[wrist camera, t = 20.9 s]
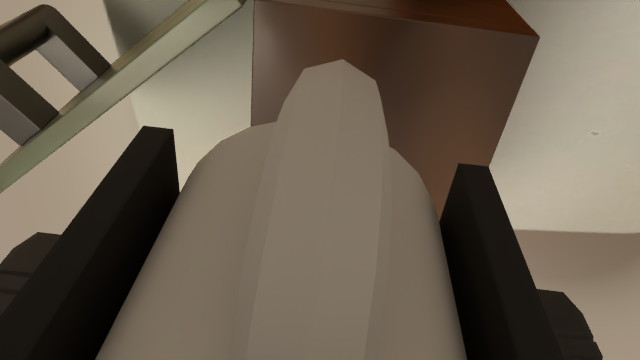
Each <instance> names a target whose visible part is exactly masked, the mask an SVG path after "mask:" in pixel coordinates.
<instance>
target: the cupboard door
mask: <svg viewBox="0 0 640 360" xmlns="http://www.w3.org/2000/svg"><path fill="white" fill-rule="evenodd" d="M246 1H247V0H189V1H187V2H186V3H185V4H184V5H183V6H181V7H180V8H179V9H178V10H177V11H175V12H174V13H173V14H172V15H171V16H169V17H168V18H167V19H166V20H164V21H163V22H162V23H161V24H160V25H158V26H157V27H156V28H155V29H154V30H152V31H151V32H150V33H149V34H148V35H146V36H145V37H144V38H143V39H141V40H140V41H139V42H138V43H137V44H135V45H134V46H133V47H132V48H131V49H129V50H128V51H127V52H126V53H125V54H123V55H122V56H121V57H120V58H119V59H117V60H116V61H115V62H114V63H113V64H111V65H110V63H109V62H108V61H107V60H105V58H104V57H103V56H102V55H101V54H100V53H99V52H98V51H97V50H96V49H95V48H94V47H93V46H92V45H91V44H90V43H89V42H88V41H87V40H86V39H85V38H84V37H83V36H82V35H81V34H80V33H79V32H78V31H77V30H76V29H75V28H74V27H73V26H72V25H71V24H70V23H69V22H68V21H67V20H66V19H65V18H64V17H63V16H62V15H61V14H60V13H59V12H58V11H57V10H56V9H55V8H53V7H51V6H49V5H39V6H37V7H35V8H33V9H31V10H29V11H27V12H25V13H23V14H21V15H19V16H18V17H16V18H14V19H12V20H10V21H8V22H6V23H4V24H2V25H0V130H2V131H3V132H4V133H5V134H6V135H8V136H9V137H10V138H11V139H12V140H14V141H15V142H16V143H17V144H18V145H20V147H19V148H17V149H16V150H15V151H14V152H13V153H12V154H11V155H10V156H9V157H8V158H7V159H5V160H4V161H3V162H2V163H1V164H0V193H1V192H2V191H4V190H5V189H7V188H8V187H9V186H10V185H12V184H13V183H14V182H16V181H17V180H18V179H19V178H21V177H22V176H23V175H25V174H26V173H27V172H29V171H30V170H31V169H32V168H34V167H35V166H36V165H38V164H39V163H40V162H42V161H43V160H44V159H45V158H47V157H48V156H49V155H50V154H52V153H53V152H55V151H56V150H57V149H58V148H60V147H61V146H62V145H64V144H65V143H66V142H67V141H69V140H70V139H71V138H73V137H74V136H75V135H77V134H78V133H79V132H80V131H82V130H83V129H84V128H85V127H87V126H88V125H89V124H91V123H92V122H93V121H95V120H96V119H97V118H99V117H100V116H101V115H102V114H104V113H105V112H106V111H108V110H109V109H110V108H112V107H113V106H114V105H115V104H117V103H118V102H119V101H121V100H122V99H123V98H125V97H126V96H127V95H128V94H130V93H131V92H132V91H134V90H135V89H136V88H138V87H139V86H140V85H141V84H143V83H144V82H145V81H147V80H148V79H149V78H150V77H152V76H153V75H154V74H156V73H157V72H158V71H160V70H161V69H162V68H163V67H165V66H166V65H167V64H169V63H170V62H171V61H173V60H174V59H175V58H176V57H178V56H179V55H180V54H182V53H183V52H184V51H185V50H187V49H188V48H189V47H191V46H192V45H193V44H195V43H196V42H197V41H198V40H200V39H201V38H202V37H204V36H205V35H206V34H208V33H209V32H210V31H211V30H213V29H214V28H215V27H217V26H218V25H219V24H221V23H222V22H223V21H224V20H226V19H227V18H228V17H230V16H231V15H232V14H233V13H235V12H236V11H237V10H239V9H240V8H241V7H242V6H243V5H244V4H245V2H246ZM35 49H36V50H37V51H38V52H39V53H40V54H41V55H42V56H43V57H44V58H45V59H46V60H48V62H50V64H52V65H53V66H54V67H55V68H56V69H57V70H58V71H59V72H60V73H61V74H62V75H63V76H64V77H65V78H66V79H67V80H68V81H69V82H70V83H72V84H73V85H74V86H75V87H76V88H77V89H78V90H79V91H80V92H79V93H78V94H77V95H76V96H75V97H74V98H73V99H71V100H70V101H69V102H68V103H67V104H66V105H65V106H64V107H63V108H62V109H60V110H59V111H57V110H56V109H55V108H54V107H53V106H52V105H51V104H49V103H48V102H47V101H46V100H45V99H44V98H43V97H42V96H41V95H40V94H38V93H37V92H36V91H35V90H34V89H33V88H32V87H31V86H30V85H28V84H27V83H26V82H25V81H24V80H23V79H22V78H21V77H19V76H18V75H17V74H16V73H15V72H14V71H13V70H12V69H11V68H10V67H9V66H11V65H12V64H14V63H15V62H17V61H18V60H20V59H22V58H23V57H25V56H26V55H28V54H29V53H31V52H32V51H34V50H35Z"/></svg>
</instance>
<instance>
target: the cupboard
mask: <svg viewBox="0 0 640 360" xmlns="http://www.w3.org/2000/svg"><path fill="white" fill-rule="evenodd" d="M539 38H540V36H539V35H538V34H537V33H536V32H535V31H534V30H533V29H531V27H530V26H529V25H528V24H527V23H526V22H525V21H524V20H523V18H522V17H521V16H520V15H519V14H518V13H517V12H516V11H515V10H514V9H513V7H512V6H511V5H510V4H509V3H508V2H507V1H506V0H254V22H253V60H252V99H251V127H252V126H257V125H262V124H267V123H273V122H277V119H278V116H279V114H280V111H281V109H282V106H283V104H284V101H285V100H286V98H287V96H288V95H289V93H290V91H291V90H292V88H293V86H294V85H295V83H296V81H297V80H298V78H299V77H300V75H301V73H302V72H303V70H304V69H305V68H309V67H313V66H317V65H321V64H325V63H329V62H334V61H338V60H342V59H343V60H345V61H346V62H348V63H349V64H351V65H352V66H354V67H355V68H357V69H358V70H360V71H361V72H363V73H365V74H366V75H368V76H369V77H371V78H372V79H374V80H375V81H376V84H377V87H378V90H379V94H380V98H381V103H382V108H383V113H384V118H385V123H386V128H387V133H388V141H389V147H391V148H393V149H395V150H396V151H397V152H398V153H399V154H400V155H401V156H402V157H403V158H404V159H405V160H406V161H407V162H408V163H409V164H410V165H411V166H412V167H413V168H414V169H415V170H416V171H417V172H418V173H419V175H420V177H421V179H422V181H423V183H424V185H425V186H426V188H427V190H428V192H429V194H430V196H431V198H432V200H433V203H434V206H435V210H436V213H437V216H438V220H439V221H440V218H441V215H442V212H443V208H444V205H445V202H446V199H447V196H448V193H449V190H450V187H451V184H452V181H453V178H454V175H455V172H456V169H457V166H458V163H464V164H472V165H481V166H488V167H489V165H490V163H491V160H492V158H493V155H494V152H495V150H496V147H497V145H498V142H499V140H500V137H501V135H502V132H503V130H504V127H505V125H506V122H507V119H508V117H509V114H510V112H511V109H512V107H513V104H514V102H515V99H516V97H517V94H518V92H519V89H520V87H521V84H522V81H523V79H524V76H525V74H526V71H527V69H528V66H529V64H530V61H531V59H532V56H533V54H534V51H535V49H536V46H537V43H538V41H539Z"/></svg>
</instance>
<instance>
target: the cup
mask: <svg viewBox="0 0 640 360" xmlns="http://www.w3.org/2000/svg"><path fill="white" fill-rule="evenodd" d="M95 360H467V356H466V351H465V347H464V342H463V337H462V332H461V327H460V322H459V317H458V313H457V308H456V303H455V298H454V293H453V288H452V283H451V279H450V274H449V269H448V264H447V259H446V254H445V249H444V245H443V240H442V235H441V230H440V225H439V220H438V216H437V213H436V210H435V206H434V203H433V200H432V198H431V196H430V194H429V192H428V190H427V188H426V186H425V185H424V183H423V181H422V179H421V177H420V175H419V173H418V172H417V171H416V170H415V169H414V168H413V167H412V166H411V165H410V164H409V163H408V162H407V161H406V160H405V159H404V158H403V157H402V156H401V155H400V154H399V153H398V152H397V151H396V150H395V149H393V148H391V147H389V141H388V133H387V128H386V123H385V118H384V113H383V108H382V103H381V98H380V94H379V90H378V87H377V84H376V81H375V80H374V79H372V78H371V77H369V76H368V75H366V74H365V73H363V72H361V71H360V70H358V69H357V68H355V67H354V66H352V65H351V64H349V63H348V62H346V61H345V60H343V59H342V60H338V61H334V62H329V63H325V64H321V65H317V66H313V67H309V68H305V69H304V70H303V72H302V73H301V75H300V77H299V78H298V80H297V81H296V83H295V85H294V86H293V88H292V90H291V91H290V93H289V95H288V96H287V98H286V100H285V101H284V104H283V106H282V109H281V111H280V114H279V116H278V119H277V122H273V123H267V124H262V125H257V126H252V127H249V128H247V129H245V130H243V131H241V132H239V133H237V134H235V135H233V136H231V137H229V138H227V139H225V140H223V141H221V142H220V143H219V144H217V145H216V146H215V147H214V148H213V149H212V150H211V151H210V152H209V153H208V154H206V155H205V156H204V157H203V158H202V159H201V160H200V161H199V162H198V163H197V165H196V166H195V168H194V169H193V171H192V173H191V174H190V176H189V177H188V179H187V181H186V183H185V185H184V187H183V188H182V190H181V192H180V194H179V196H178V198H177V200H176V202H175V204H174V206H173V208H172V209H171V211H170V213H169V215H168V217H167V219H166V221H165V223H164V225H163V227H162V229H161V231H160V233H159V235H158V237H157V239H156V241H155V243H154V245H153V247H152V249H151V251H150V253H149V255H148V256H147V258H146V260H145V262H144V264H143V266H142V268H141V270H140V272H139V274H138V276H137V278H136V280H135V282H134V284H133V286H132V288H131V290H130V292H129V294H128V296H127V298H126V300H125V302H124V304H123V305H122V307H121V309H120V311H119V313H118V315H117V317H116V319H115V321H114V323H113V325H112V327H111V329H110V331H109V333H108V335H107V337H106V339H105V341H104V343H103V345H102V347H101V349H100V351H99V353H98V354H97V356H96V358H95Z"/></svg>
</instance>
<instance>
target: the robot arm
mask: <svg viewBox="0 0 640 360" xmlns="http://www.w3.org/2000/svg"><path fill="white" fill-rule="evenodd" d="M179 194H180V191H179V181H178V172H177V162H176V152H175V142H174V133H173V129H166V128H158V127H149V126H143V127H142V128H141V130H140V131H139V132H138V134H137V135H136V136H135V138H134V139H133V140H132V142H131V143H130V144H129V146H128V147H127V148H126V150H125V151H124V152H123V154H122V155H121V156H120V158H119V159H118V160H117V162H116V163H115V164H114V166H113V167H112V168H111V170H110V171H109V172H108V174H107V175H106V176H105V178H104V179H103V180H102V182H101V183H100V184H99V186H98V187H97V188H96V190H95V191H94V192H93V194H92V195H91V196H90V198H89V199H88V200H87V202H86V203H85V205H84V206H83V207H82V208H81V210H80V211H79V212H78V214H77V215H76V216H75V218H74V219H73V220H72V222H71V223H70V224H69V226H68V227H67V228H66V230H65V231H64V232H63V234H62V235H57V234H49V233H41V232H37V233H36V234H34V235H33V236H31V237H30V238H28V239H27V240H26V241H24V242H23V243H21V244H19V245H18V246H16V247H15V248H13V250H12V251H11V252H10V253H9V254H8V255H7V257H6V258H5V259H4V260H3V261H2V263H1V264H0V360H95V358H96V356H97V354H98V353H99V351H100V349H101V347H102V345H103V343H104V341H105V339H106V337H107V335H108V333H109V331H110V329H111V327H112V325H113V323H114V321H115V319H116V317H117V315H118V313H119V311H120V309H121V307H122V305H123V304H124V302H125V300H126V298H127V296H128V294H129V292H130V290H131V288H132V286H133V284H134V282H135V280H136V278H137V276H138V274H139V272H140V270H141V268H142V266H143V264H144V262H145V260H146V258H147V256H148V255H149V253H150V251H151V249H152V247H153V245H154V243H155V241H156V239H157V237H158V235H159V233H160V231H161V229H162V227H163V225H164V223H165V221H166V219H167V217H168V215H169V213H170V211H171V209H172V208H173V206H174V204H175V202H176V200H177V198H178V196H179ZM439 225H440V230H441V235H442V240H443V245H444V249H445V254H446V259H447V264H448V269H449V274H450V279H451V283H452V288H453V293H454V298H455V303H456V308H457V313H458V317H459V322H460V327H461V332H462V337H463V342H464V347H465V351H466V356H467V360H602V358H603V356H602V354H601V352H600V350H599V348H598V346H597V344H596V342H594V341H593V335H592V333H591V331H590V329H589V327H588V324H587V322H586V320H585V318H584V316H583V314H582V313H581V312H580V310H579V309H578V308H577V307H576V306H575V305H574V304H573V303H572V302H571V301H570V300H569V298H568V297H567V296H566V295H565V294H564V293H563V292H557V291H549V290H540V289H536V287H535V284H534V282H533V279H532V276H531V274H530V271H529V269H528V266H527V264H526V261H525V259H524V256H523V254H522V251H521V249H520V246H519V243H518V241H517V239H516V236H515V233H514V231H513V228H512V226H511V223H510V221H509V218H508V216H507V213H506V210H505V208H504V205H503V203H502V200H501V198H500V195H499V193H498V190H497V188H496V185H495V183H494V180H493V177H492V175H491V172H490V170H489V167H488V166H481V165H472V164H464V163H458V166H457V169H456V172H455V175H454V178H453V181H452V184H451V187H450V190H449V193H448V196H447V199H446V202H445V205H444V208H443V212H442V215H441V218H440V221H439Z"/></svg>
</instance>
